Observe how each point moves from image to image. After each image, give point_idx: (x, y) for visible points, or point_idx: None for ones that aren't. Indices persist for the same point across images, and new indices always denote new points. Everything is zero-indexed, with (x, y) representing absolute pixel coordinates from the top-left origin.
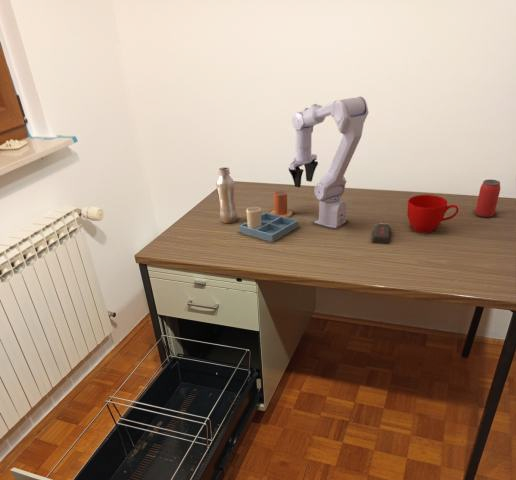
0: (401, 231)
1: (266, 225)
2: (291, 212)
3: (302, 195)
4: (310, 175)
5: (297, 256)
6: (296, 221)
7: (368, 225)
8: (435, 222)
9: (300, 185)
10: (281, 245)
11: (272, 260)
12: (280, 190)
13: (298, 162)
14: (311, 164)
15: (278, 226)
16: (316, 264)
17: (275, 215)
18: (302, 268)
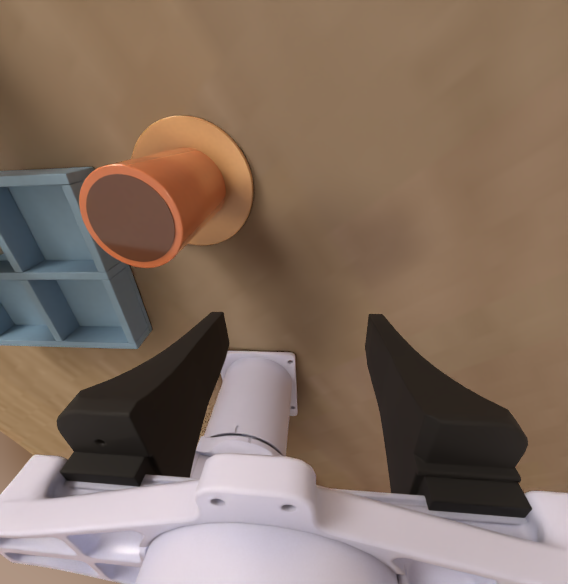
0: None
1: (7, 278)
2: (232, 229)
3: (537, 79)
4: (375, 378)
5: (46, 406)
6: (127, 348)
7: (311, 452)
8: None
9: (224, 354)
10: (37, 353)
11: None
12: (162, 190)
13: (138, 551)
14: (399, 488)
15: (45, 322)
16: (65, 443)
17: (88, 248)
18: (29, 432)
